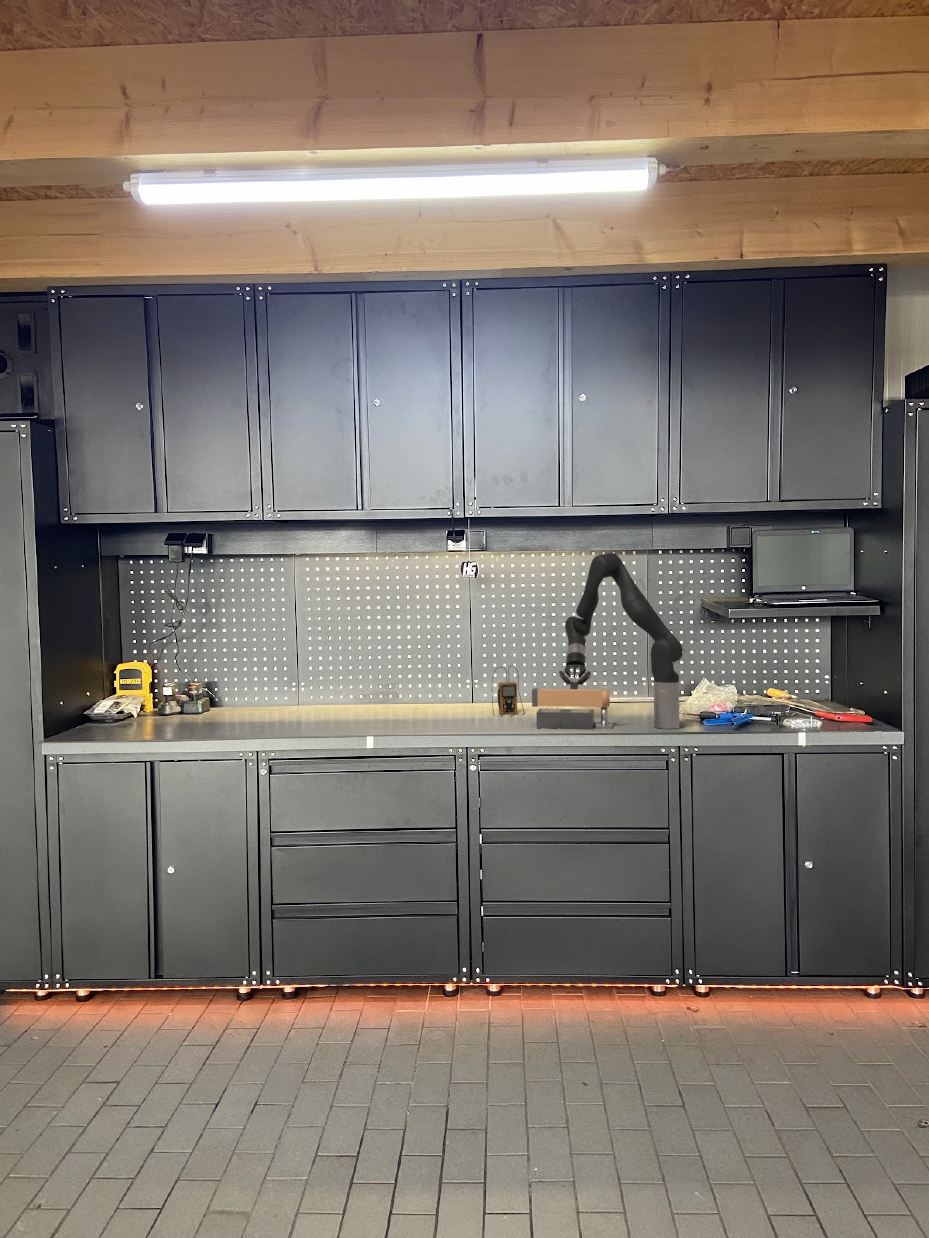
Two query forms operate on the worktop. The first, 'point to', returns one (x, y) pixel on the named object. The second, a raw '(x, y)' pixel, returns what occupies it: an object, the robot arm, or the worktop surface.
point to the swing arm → (570, 698)
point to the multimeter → (507, 696)
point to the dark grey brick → (565, 718)
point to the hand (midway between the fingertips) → (573, 691)
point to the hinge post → (604, 720)
